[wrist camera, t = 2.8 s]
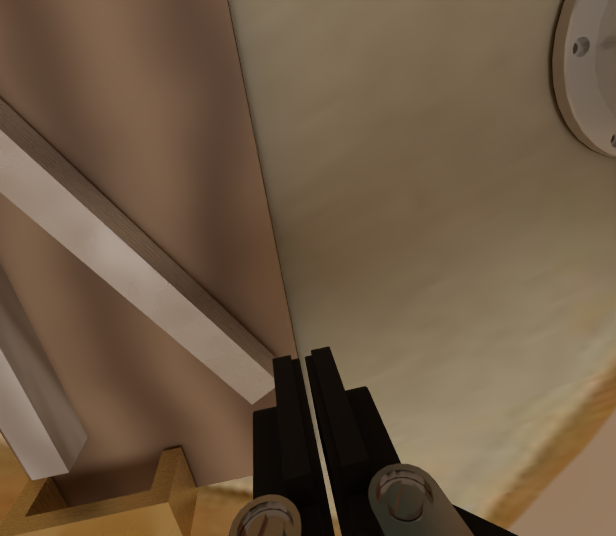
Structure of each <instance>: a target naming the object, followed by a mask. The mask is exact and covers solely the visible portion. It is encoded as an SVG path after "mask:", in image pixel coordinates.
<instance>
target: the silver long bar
mask: <svg viewBox="0 0 616 536" xmlns="http://www.w3.org/2000/svg"><path fill="white" fill-rule="evenodd" d="M0 192H1V193H2V194H3V195H4V196H5V197H7V198H8V199H9V200H10V201H11V202H13V203H14V204H15V205H16V206H17V207H18V208H20V209H21V210H22V211H23V212H24V213H26V214H27V215H28V216H29V217H30V218H31V219H33V220H34V221H35V222H36V223H37V224H39V225H40V226H41V227H42V228H43V229H45V230H46V231H47V232H48V233H49V234H50V235H52V236H53V237H54V238H55V239H56V240H58V241H59V242H60V243H61V244H62V245H63V246H65V247H66V248H67V249H68V250H69V251H71V252H72V253H73V254H74V255H75V256H77V257H78V258H79V259H80V260H81V261H82V262H84V263H85V264H86V265H87V266H88V267H90V268H91V269H92V270H93V271H94V272H95V273H97V274H98V275H99V276H100V277H101V278H103V279H104V280H105V281H106V282H107V283H109V284H110V285H111V286H112V287H113V288H114V289H116V290H117V291H118V292H119V293H120V294H122V295H123V296H124V297H125V298H126V299H127V300H129V301H130V302H131V303H132V304H133V305H135V306H136V307H137V308H138V309H139V310H141V311H142V312H143V313H144V314H145V315H146V316H148V317H149V318H150V319H151V320H152V321H154V322H155V323H156V324H157V325H158V326H159V327H161V328H162V329H163V330H164V331H165V332H167V333H168V334H169V335H170V336H171V337H173V338H174V339H175V340H176V341H177V342H178V343H180V344H181V345H182V346H183V347H184V348H186V349H187V350H188V351H189V352H190V353H191V354H193V355H194V356H195V357H196V358H197V359H199V360H200V361H201V362H202V363H203V364H205V365H206V366H207V367H208V368H209V369H210V370H212V371H213V372H214V373H215V374H216V375H218V376H219V377H220V378H221V379H222V380H223V381H225V382H226V383H227V384H228V385H229V386H231V387H232V388H233V389H234V390H235V391H237V392H238V393H239V394H240V395H241V396H242V397H244V398H245V399H246V400H247V401H248V402H250V403H251V404H254V403H255V402H256V401H258V400H259V399H260V398H262V397H263V396H264V395H266V394H267V393H268V392H270V391H271V390H272V389H274V388H275V384H274V373H273V362H272V359H273V358H276V357H275V356H274V355H273V354H272V353H271V352H270V351H269V350H268V349H267V348H265V347H264V346H263V345H262V344H261V343H260V342H259V341H258V340H257V339H256V338H255V337H254V336H253V335H252V334H251V333H250V332H248V331H247V330H246V329H245V328H244V327H243V326H242V325H241V324H240V323H239V322H238V321H237V320H236V319H235V318H234V317H232V316H231V315H230V314H229V313H228V312H227V311H226V310H225V309H224V308H223V307H222V306H221V305H220V304H219V303H218V302H217V301H215V300H214V299H213V298H212V297H211V296H210V295H209V294H208V293H207V292H206V291H205V290H204V289H203V288H202V287H201V286H200V285H198V284H197V283H196V282H195V281H194V280H193V279H192V278H191V277H190V276H189V275H188V274H187V273H186V272H185V271H184V270H183V269H181V268H180V267H179V266H178V265H177V264H176V263H175V262H174V261H173V260H172V259H171V258H170V257H169V256H168V255H167V254H165V253H164V252H163V251H162V250H161V249H160V248H159V247H158V246H157V245H156V244H155V243H154V242H153V241H152V240H151V239H150V238H148V237H147V236H146V235H145V234H144V233H143V232H142V231H141V230H140V229H139V228H138V227H137V226H136V225H135V224H134V223H133V222H131V221H130V220H129V219H128V218H127V217H126V216H125V215H124V214H123V213H122V212H121V211H120V210H119V209H118V208H117V207H116V206H114V205H113V204H112V203H111V202H110V201H109V200H108V199H107V198H106V197H105V196H104V195H103V194H102V193H101V192H100V191H98V190H97V189H96V188H95V187H94V186H93V185H92V184H91V183H90V182H89V181H88V180H87V179H86V178H85V177H84V176H83V175H81V174H80V173H79V172H78V171H77V170H76V169H75V168H74V167H73V166H72V165H71V164H70V163H69V162H68V161H67V160H66V159H64V158H63V157H62V156H61V155H60V154H59V153H58V152H57V151H56V150H55V149H54V148H53V147H52V146H51V145H50V144H49V143H47V142H46V141H45V140H44V139H43V138H42V137H41V136H40V135H39V134H38V133H37V132H36V131H35V130H34V129H33V128H32V127H30V126H29V125H28V124H27V123H26V122H25V121H24V120H23V119H22V118H21V117H20V116H19V115H18V114H17V113H16V112H14V111H13V110H12V109H11V108H10V107H9V106H8V105H7V104H6V103H5V102H4V101H3V100H2V99H1V98H0Z"/></svg>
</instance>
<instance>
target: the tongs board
mask: <svg viewBox="0 0 616 536" xmlns="http://www.w3.org/2000/svg"><path fill="white" fill-rule="evenodd" d="M0 98H1V99H2V100H3V101H4V102H5V103H6V104H7V105H8V106H9V107H10V108H11V109H12V110H13V111H14V112H16V113H17V114H18V115H19V116H20V117H21V118H22V119H23V120H24V121H25V122H26V123H27V124H28V125H29V126H30V127H32V128H33V129H34V130H35V131H36V132H37V133H38V134H39V135H40V136H41V137H42V138H43V139H44V140H45V141H46V142H47V143H49V144H50V145H51V146H52V147H53V148H54V149H55V150H56V151H57V152H58V153H59V154H60V155H61V156H62V157H63V158H64V159H66V160H67V161H68V162H69V163H70V164H71V165H72V166H73V167H74V168H75V169H76V170H77V171H78V172H79V173H80V174H81V175H83V176H84V177H85V178H86V179H87V180H88V181H89V182H90V183H91V184H92V185H93V186H94V187H95V188H96V189H97V190H98V191H100V192H101V193H102V194H103V195H104V196H105V197H106V198H107V199H108V200H109V201H110V202H111V203H112V204H113V205H114V206H116V207H117V208H118V209H119V210H120V211H121V212H122V213H123V214H124V215H125V216H126V217H127V218H128V219H129V220H130V221H131V222H133V223H134V224H135V225H136V226H137V227H138V228H139V229H140V230H141V231H142V232H143V233H144V234H145V235H146V236H147V237H148V238H150V239H151V240H152V241H153V242H154V243H155V244H156V245H157V246H158V247H159V248H160V249H161V250H162V251H163V252H164V253H165V254H167V255H168V256H169V257H170V258H171V259H172V260H173V261H174V262H175V263H176V264H177V265H178V266H179V267H180V268H181V269H183V270H184V271H185V272H186V273H187V274H188V275H189V276H190V277H191V278H192V279H193V280H194V281H195V282H196V283H197V284H198V285H200V286H201V287H202V288H203V289H204V290H205V291H206V292H207V293H208V294H209V295H210V296H211V297H212V298H213V299H214V300H215V301H217V302H218V303H219V304H220V305H221V306H222V307H223V308H224V309H225V310H226V311H227V312H228V313H229V314H230V315H231V316H232V317H234V318H235V319H236V320H237V321H238V322H239V323H240V324H241V325H242V326H243V327H244V328H245V329H246V330H247V331H248V332H250V333H251V334H252V335H253V336H254V337H255V338H256V339H257V340H258V341H259V342H260V343H261V344H262V345H263V346H264V347H265V348H267V349H268V350H269V351H270V352H271V353H272V354H273V355H274V356H275V357H276V358H278V357H282V356H287V355H291V358H292V360H293V359H297V358H298V354H297V349H296V344H295V339H294V334H293V329H292V324H291V318H290V313H289V308H288V303H287V298H286V293H285V288H284V283H283V278H282V273H281V268H280V263H279V258H278V252H277V247H276V242H275V237H274V232H273V227H272V222H271V217H270V212H269V207H268V202H267V197H266V192H265V187H264V181H263V176H262V171H261V166H260V161H259V156H258V151H257V146H256V141H255V136H254V131H253V126H252V121H251V115H250V110H249V105H248V100H247V95H246V90H245V85H244V80H243V75H242V70H241V65H240V60H239V55H238V49H237V44H236V39H235V34H234V29H233V24H232V19H231V14H230V9H229V4H228V0H0ZM275 406H276V395H275V388H274V389H272V390H271V391H270V392H268V393H267V394H266V395H264V396H263V397H262V398H260V399H259V400H258V401H256V402H255V403H254V404H251V403H250V402H248V401H247V400H246V399H245V398H244V397H242V396H241V395H240V394H239V393H238V392H237V391H235V390H234V389H233V388H232V387H231V386H229V385H228V384H227V383H226V382H225V381H223V380H222V379H221V378H220V377H219V376H218V375H216V374H215V373H214V372H213V371H212V370H210V369H209V368H208V367H207V366H206V365H205V364H203V363H202V362H201V361H200V360H199V359H197V358H196V357H195V356H194V355H193V354H191V353H190V352H189V351H188V350H187V349H186V348H184V347H183V346H182V345H181V344H180V343H178V342H177V341H176V340H175V339H174V338H173V337H171V336H170V335H169V334H168V333H167V332H165V331H164V330H163V329H162V328H161V327H159V326H158V325H157V324H156V323H155V322H154V321H152V320H151V319H150V318H149V317H148V316H146V315H145V314H144V313H143V312H142V311H141V310H139V309H138V308H137V307H136V306H135V305H133V304H132V303H131V302H130V301H129V300H127V299H126V298H125V297H124V296H123V295H122V294H120V293H119V292H118V291H117V290H116V289H114V288H113V287H112V286H111V285H110V284H109V283H107V282H106V281H105V280H104V279H103V278H101V277H100V276H99V275H98V274H97V273H95V272H94V271H93V270H92V269H91V268H90V267H88V266H87V265H86V264H85V263H84V262H82V261H81V260H80V259H79V258H78V257H77V256H75V255H74V254H73V253H72V252H71V251H69V250H68V249H67V248H66V247H65V246H63V245H62V244H61V243H60V242H59V241H58V240H56V239H55V238H54V237H53V236H52V235H50V234H49V233H48V232H47V231H46V230H45V229H43V228H42V227H41V226H40V225H39V224H37V223H36V222H35V221H34V220H33V219H31V218H30V217H29V216H28V215H27V214H26V213H24V212H23V211H22V210H21V209H20V208H18V207H17V206H16V205H15V204H14V203H13V202H11V201H10V200H9V199H8V198H7V197H5V196H4V195H3V194H2V193H1V192H0V432H1V434H2V436H3V437H4V439H5V441H6V442H7V444H8V445H9V447H10V449H11V450H12V452H13V454H14V455H15V457H16V458H17V460H18V462H19V463H20V465H21V467H22V468H23V470H24V471H25V473H26V475H27V476H28V478H29V479H32V480H36V479H41V478H46V477H51V479H52V481H53V482H54V484H55V486H56V487H57V489H58V491H59V493H60V494H61V496H62V498H63V499H64V501H65V503H66V505H67V506H68V508H70V507H75V506H79V505H84V504H89V503H93V502H98V501H103V500H107V499H112V498H117V497H121V496H126V495H131V494H135V493H140V492H145V491H149V490H151V488H152V484H153V481H154V477H155V474H156V470H157V467H158V464H159V460H160V457H161V453H162V451H166V450H171V449H176V448H181V449H182V451H183V454H184V456H185V459H186V462H187V464H188V467H189V469H190V472H191V475H192V477H193V480H194V483H195V485H196V487H201V486H205V485H210V484H215V483H219V482H224V481H228V480H233V479H238V478H242V477H247V476H252V475H253V411H257V410H262V409H266V408H271V407H275Z"/></svg>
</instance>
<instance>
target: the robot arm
mask: <svg viewBox="0 0 616 536" xmlns="http://www.w3.org/2000/svg"><path fill="white" fill-rule="evenodd" d="M552 65H553V85H554V90H555V94H556V98H557V103H558V107H559V109H560V111H561V113H562V115H563V118H564V120H565V122H566V124H567V126H568V127H569V128H570V129H571V131H572V132H573V133H574V135H575V136H576V137H577V138H578V140H580V141H581V142H582V143H584V144H585V145H586V146H588V147H589V148H590V149H592V150H593V151H596V152H598V153H600V154H603V155H605V156H608V157H613V158H616V0H565V1H564V4H563V7H562V11H561V14H560V18H559V22H558V25H557V29H556V33H555V41H554V49H553V57H552ZM311 354H312V355H311V356H306V357H305V361H306V366H307V372H308V377H309V382H310V387H311V393H312V398H313V403H314V409H315V414H316V419H317V424H318V430H319V435H320V439H321V444H322V448H323V453H324V457H325V462H326V466H327V471H328V476H329V480H330V485H331V489H332V494H333V498H334V503H335V507H336V512H337V516H338V521H339V525H340V530H341V534H342V536H518V535H515V534H513V533H511V532H509V531H507V530H505V529H503V528H501V527H499V526H497V525H495V524H493V523H490V522H488V521H486V520H484V519H482V518H480V517H478V516H476V515H474V514H472V513H470V512H467V511H465V510H463V509H461V508H459V507H457V506H455V505H453V504H451V502H450V501H449V500H448V498H447V497H446V495H445V494H444V493H443V491H442V490H441V488H440V487H439V485H438V484H437V483H436V481H435V480H434V479H433V478H432V477H431V476H430V475H429V474H428V473H427V472H425V471H424V470H422V469H420V468H419V467H416V466H413V465H410V464H401V462H400V460H399V458H398V455H397V453H396V451H395V449H394V446H393V444H392V442H391V440H390V437H389V435H388V433H387V431H386V428H385V426H384V424H383V422H382V419H381V417H380V415H379V412H378V410H377V408H376V406H375V403H374V401H373V399H372V397H371V394H370V392H369V390H368V388H367V387H366V386H364V387H360V388H355V389H351V390H346V391H345V389H344V387H343V384H342V381H341V378H340V375H339V372H338V370H337V367H336V364H335V361H334V358H333V355H332V353H331V350H330V347H324V348H320V349H315V350H311ZM272 362H273V373H274V384H275V395H276V406H275V407H271V408H266V409H262V410H257V411H253V500H252V501H250V502H248V503H247V504H246V505H245V506H244V507H243V508H242V509H241V510H240V511H239V512H238V514H237V515H236V517H235V518H234V520H233V522H232V525H231V528H230V531H229V535H228V536H335V534H334V529H333V524H332V519H331V514H330V509H329V504H328V498H327V493H326V488H325V483H324V478H323V473H322V468H321V463H320V458H319V453H318V448H317V443H316V439H315V434H314V429H313V424H312V419H311V414H310V409H309V405H308V400H307V395H306V390H305V385H304V380H303V376H302V371H301V366H300V361H299V358H297V359H293V360H292V358H291V355H287V356H282V357H278V358H273V359H272Z"/></svg>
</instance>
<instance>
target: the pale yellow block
mask: <svg viewBox="0 0 616 536" xmlns="http://www.w3.org/2000/svg"><path fill="white" fill-rule="evenodd" d="M197 492H198V490H197V488H196V485H195V483H194V480H193V477H192V475H191V472H190V469H189V467H188V464H187V462H186V459H185V456H184V454H183V451H182V449H181V448H176V449H171V450H166V451H162V453H161V457H160V460H159V464H158V467H157V470H156V474H155V477H154V481H153V484H152V488H151V490H149V491H145V492H140V493H135V494H131V495H126V496H121V497H117V498H112V499H107V500H103V501H98V502H93V503H89V504H84V505H79V506H75V507H70V508H68V506H67V505H66V503H65V501H64V499H63V498H62V496H61V494H60V493H59V491H58V489H57V487H56V486H55V484H54V482H53V481H52V479H51V477H46V478H41V479H36V480H32V479H29V481H28V482H27V484H26V485H25V487H24V489H23V490H22V492H21V493H20V495H19V496H18V498H17V500H16V501H15V503H14V504H13V506H12V507H11V509H10V511H9V512H8V514H7V515H6V517H5V519H4V520H3V522H2V523H1V525H0V536H190V534H191V528H192V522H193V516H194V510H195V504H196V498H197Z"/></svg>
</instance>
